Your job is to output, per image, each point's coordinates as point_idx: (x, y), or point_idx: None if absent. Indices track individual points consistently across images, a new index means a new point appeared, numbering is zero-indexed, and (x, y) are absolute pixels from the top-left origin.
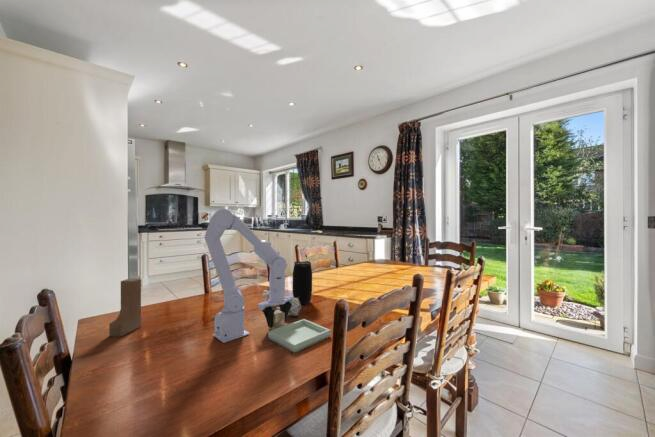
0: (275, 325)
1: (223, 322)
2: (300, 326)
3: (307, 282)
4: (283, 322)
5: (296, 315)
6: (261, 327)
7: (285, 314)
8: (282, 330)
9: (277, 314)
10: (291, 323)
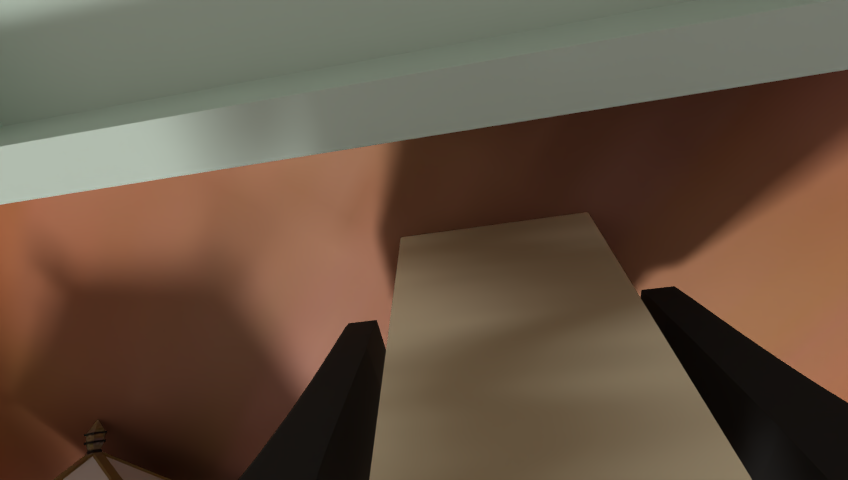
0: (626, 277)
1: None
2: (94, 74)
3: None
4: (417, 305)
5: (96, 452)
6: None
7: (322, 471)
8: (602, 26)
9: None
10: (282, 147)
